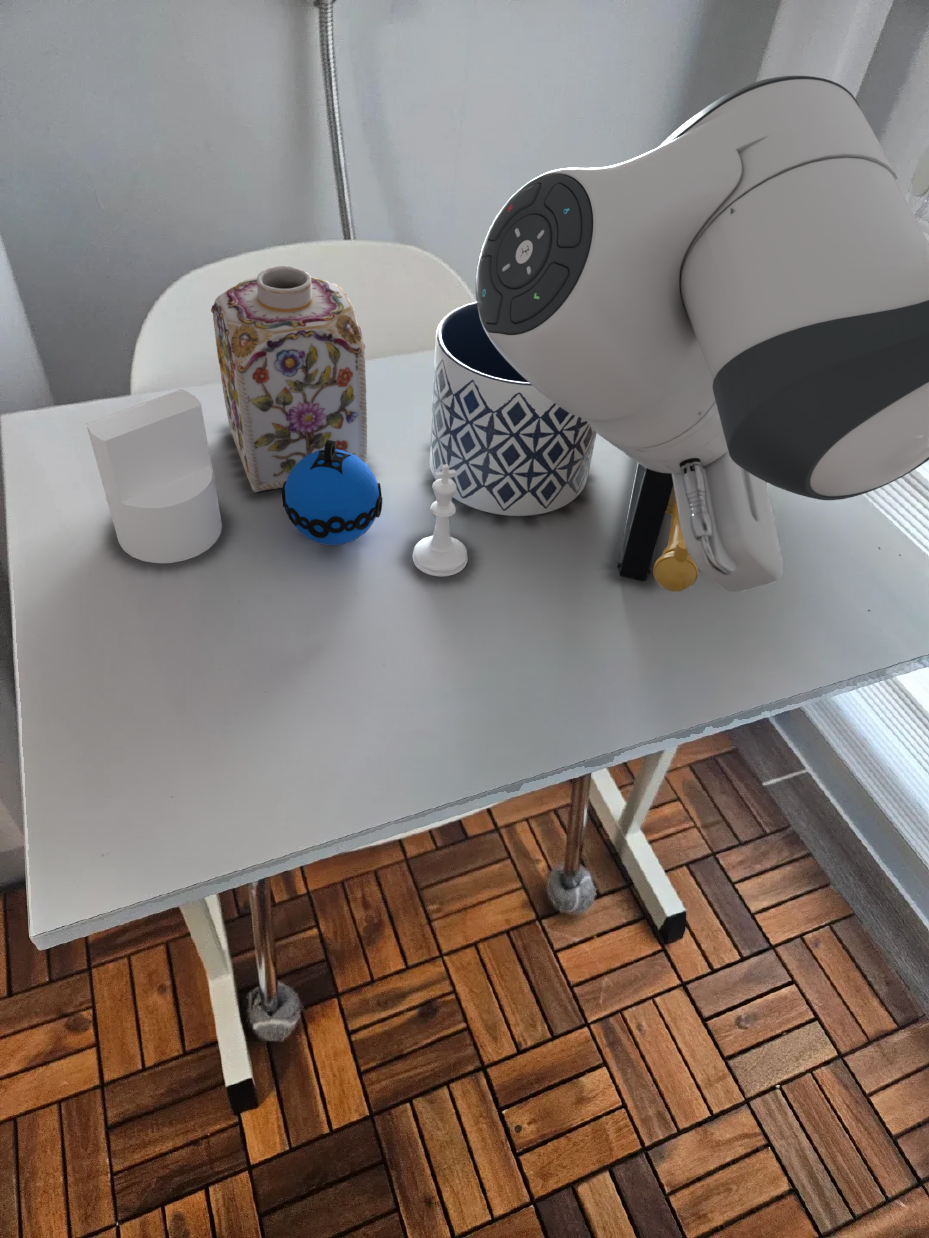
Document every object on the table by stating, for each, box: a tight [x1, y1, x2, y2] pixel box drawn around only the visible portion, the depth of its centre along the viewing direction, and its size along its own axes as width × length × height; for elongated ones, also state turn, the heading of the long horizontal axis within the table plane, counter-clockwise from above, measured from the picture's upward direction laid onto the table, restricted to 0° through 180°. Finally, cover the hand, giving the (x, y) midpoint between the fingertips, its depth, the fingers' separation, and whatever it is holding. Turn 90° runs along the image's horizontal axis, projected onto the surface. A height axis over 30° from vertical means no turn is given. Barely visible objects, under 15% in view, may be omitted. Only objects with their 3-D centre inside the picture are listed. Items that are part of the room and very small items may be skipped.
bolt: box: [652, 496, 699, 593], centre depth 67 cm, size 11×3×4 cm, turn 166°
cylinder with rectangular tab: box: [86, 388, 223, 564], centre depth 75 cm, size 9×9×12 cm
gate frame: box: [616, 462, 675, 582], centre depth 84 cm, size 29×5×13 cm, turn 166°
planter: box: [429, 301, 598, 517], centre depth 84 cm, size 16×16×14 cm
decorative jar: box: [210, 265, 368, 493], centre depth 83 cm, size 12×12×18 cm
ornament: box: [280, 440, 383, 546], centre depth 77 cm, size 9×9×10 cm
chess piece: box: [412, 464, 469, 577], centre depth 76 cm, size 5×5×10 cm
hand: (755, 466), depth 61 cm, fingers closed
